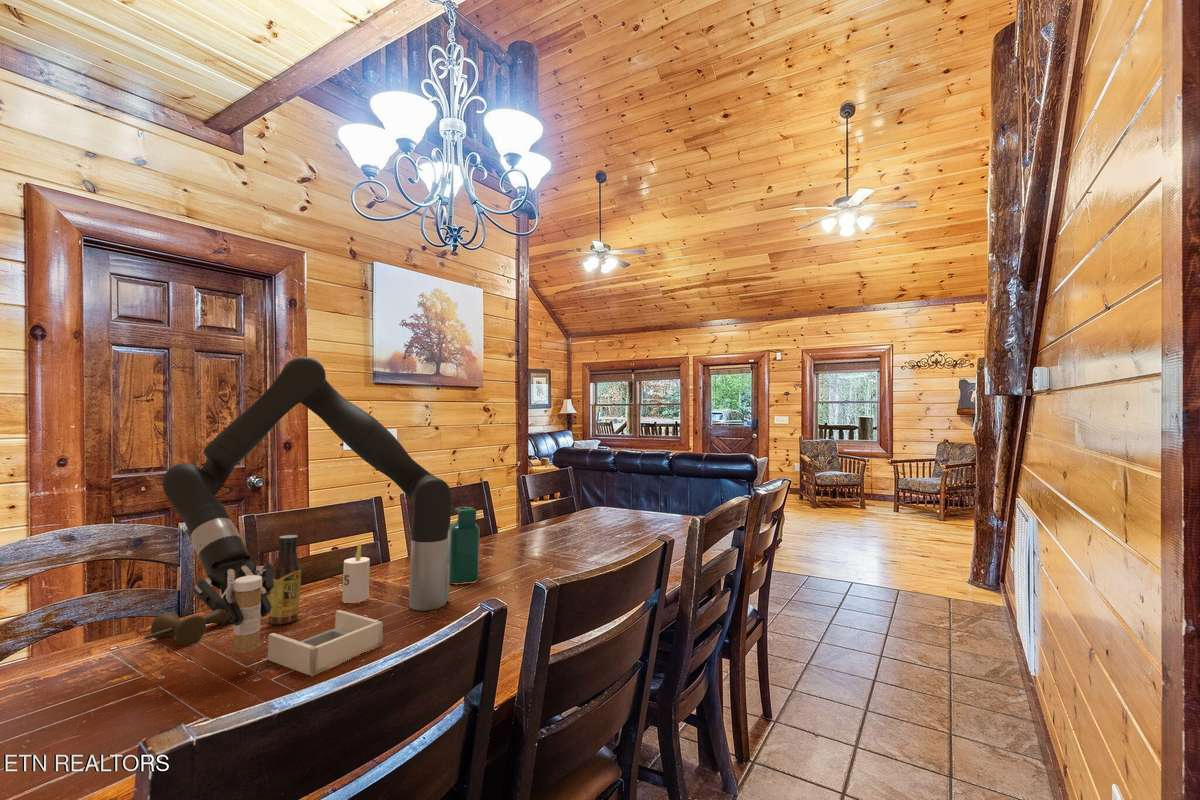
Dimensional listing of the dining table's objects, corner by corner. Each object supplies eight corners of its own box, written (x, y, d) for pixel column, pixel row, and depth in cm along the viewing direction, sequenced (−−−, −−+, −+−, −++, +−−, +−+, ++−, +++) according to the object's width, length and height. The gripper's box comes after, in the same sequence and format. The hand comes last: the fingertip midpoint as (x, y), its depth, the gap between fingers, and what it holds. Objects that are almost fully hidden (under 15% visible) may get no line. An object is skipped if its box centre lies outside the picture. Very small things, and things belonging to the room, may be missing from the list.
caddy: (338, 632, 122) (339, 609, 122) (382, 645, 116) (382, 621, 116) (267, 659, 108) (268, 634, 108) (312, 676, 101) (313, 649, 102)
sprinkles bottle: (234, 646, 104) (235, 576, 105) (261, 641, 107) (263, 573, 107) (231, 655, 100) (232, 583, 101) (259, 650, 102) (261, 579, 103)
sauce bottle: (284, 627, 124) (288, 540, 125) (261, 624, 126) (265, 538, 126) (305, 617, 131) (308, 534, 131) (283, 614, 132) (286, 533, 133)
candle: (336, 602, 141) (338, 544, 142) (356, 594, 147) (357, 539, 148) (354, 605, 139) (356, 547, 139) (373, 598, 145) (375, 541, 146)
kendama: (253, 624, 127) (158, 656, 108) (224, 619, 130) (128, 650, 112) (254, 598, 128) (160, 626, 109) (226, 594, 131) (130, 620, 112)
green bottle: (445, 578, 164) (447, 505, 164) (473, 575, 167) (475, 504, 168) (451, 587, 155) (453, 510, 156) (480, 584, 158) (482, 509, 159)
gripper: (186, 542, 101) (221, 619, 95) (264, 528, 114) (298, 595, 108) (171, 566, 103) (203, 643, 97) (248, 550, 116) (281, 617, 110)
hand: (253, 618), depth 103 cm, fingers closed on sprinkles bottle, 4 cm apart
